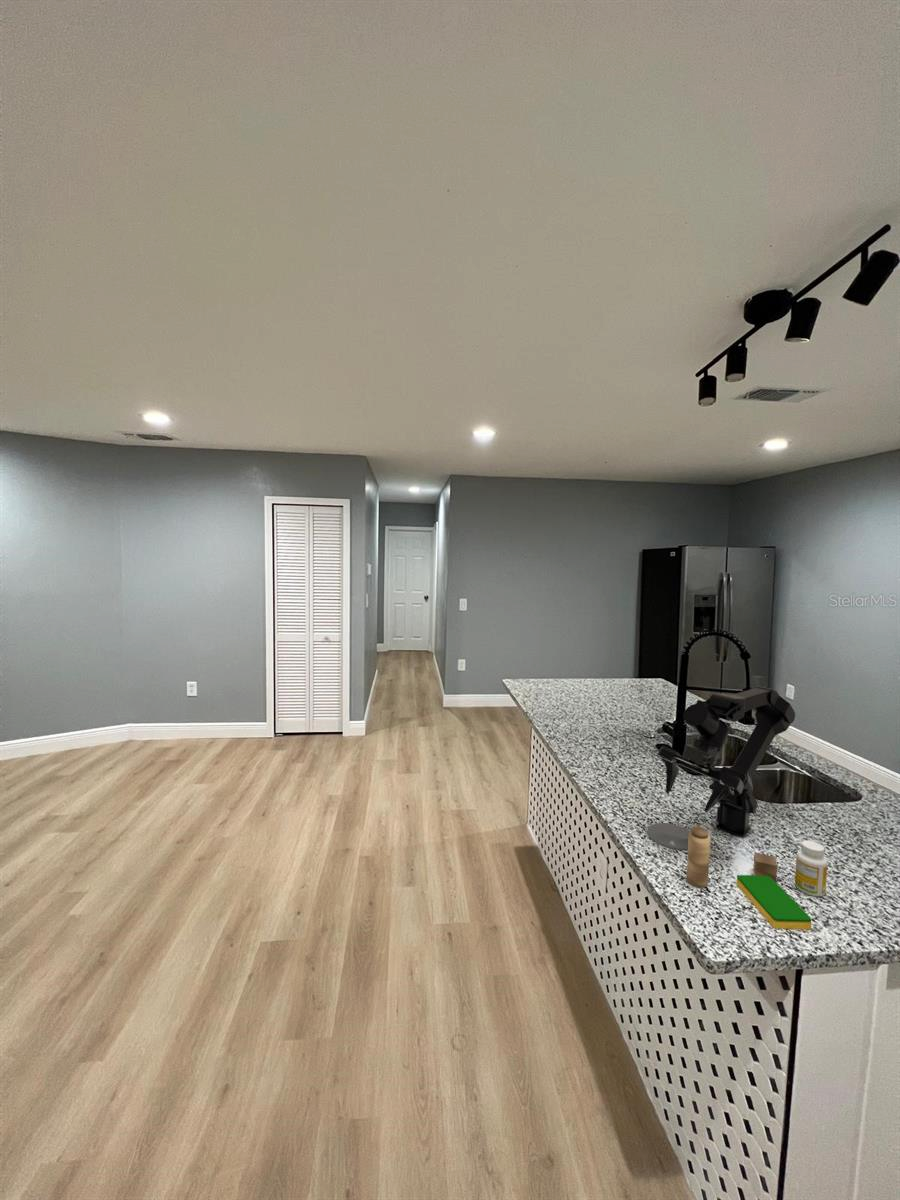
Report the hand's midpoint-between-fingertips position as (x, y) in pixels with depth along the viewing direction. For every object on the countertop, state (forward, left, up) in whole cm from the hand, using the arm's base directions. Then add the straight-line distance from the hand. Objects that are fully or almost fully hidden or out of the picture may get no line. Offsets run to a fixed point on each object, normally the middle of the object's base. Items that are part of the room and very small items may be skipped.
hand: (685, 802), depth 124 cm
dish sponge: (-20, +6, -13) cm, 25 cm away
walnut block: (-16, -4, -12) cm, 21 cm away
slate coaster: (+5, -5, -12) cm, 14 cm away
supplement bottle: (-24, -6, -12) cm, 28 cm away
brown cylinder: (-7, +10, -12) cm, 17 cm away
